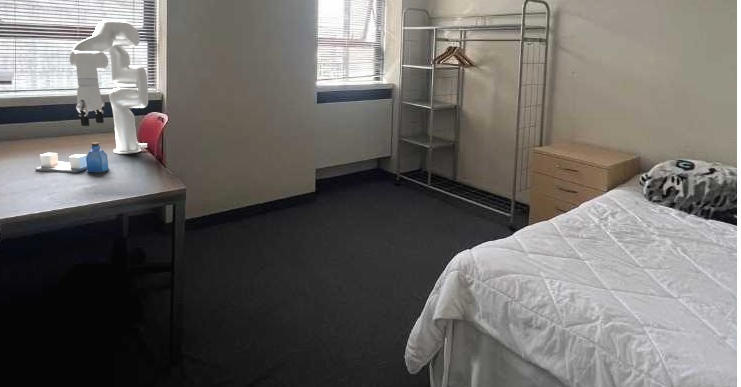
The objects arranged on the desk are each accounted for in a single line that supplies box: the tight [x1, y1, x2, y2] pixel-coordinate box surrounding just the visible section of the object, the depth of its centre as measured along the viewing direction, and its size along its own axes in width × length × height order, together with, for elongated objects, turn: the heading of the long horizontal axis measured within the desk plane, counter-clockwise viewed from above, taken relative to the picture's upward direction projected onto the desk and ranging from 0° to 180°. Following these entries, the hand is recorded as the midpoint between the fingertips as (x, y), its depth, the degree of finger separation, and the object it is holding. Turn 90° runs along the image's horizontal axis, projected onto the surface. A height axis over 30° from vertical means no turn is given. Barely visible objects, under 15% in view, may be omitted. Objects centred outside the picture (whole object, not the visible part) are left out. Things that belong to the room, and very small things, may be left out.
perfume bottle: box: [86, 141, 109, 173], centre depth 228 cm, size 6×6×12 cm
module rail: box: [34, 152, 87, 174], centre depth 231 cm, size 18×12×6 cm, turn 83°
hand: (92, 124), depth 224 cm, fingers open, 9 cm apart
